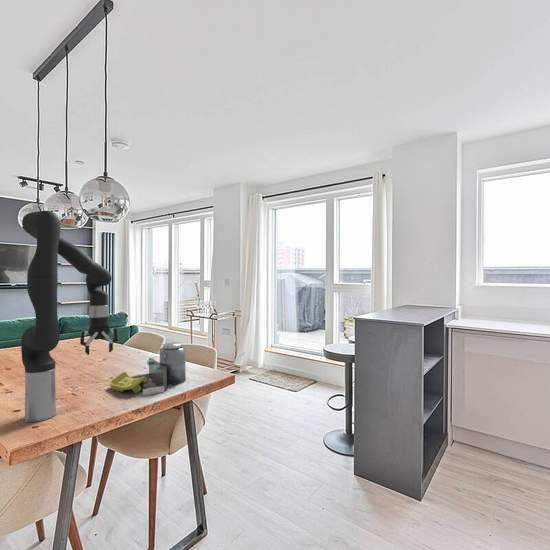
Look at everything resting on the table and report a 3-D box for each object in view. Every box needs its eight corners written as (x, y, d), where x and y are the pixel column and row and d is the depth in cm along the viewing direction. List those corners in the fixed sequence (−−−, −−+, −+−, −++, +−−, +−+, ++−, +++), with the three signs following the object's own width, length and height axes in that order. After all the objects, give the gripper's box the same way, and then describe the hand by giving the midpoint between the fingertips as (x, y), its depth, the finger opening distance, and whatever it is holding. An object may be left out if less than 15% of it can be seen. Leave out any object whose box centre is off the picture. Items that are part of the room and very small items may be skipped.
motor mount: (143, 396, 145) (142, 353, 145) (129, 381, 166) (129, 344, 166) (194, 385, 158) (194, 346, 158) (176, 373, 179) (175, 338, 179)
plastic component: (107, 383, 155) (126, 369, 162) (114, 396, 157) (133, 382, 165) (127, 389, 142) (147, 373, 150) (135, 403, 145) (154, 387, 152)
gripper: (81, 317, 140) (81, 357, 140) (118, 315, 148) (118, 352, 148) (79, 316, 146) (79, 354, 146) (115, 313, 154) (115, 349, 154)
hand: (99, 353), depth 147 cm, fingers open, 8 cm apart
